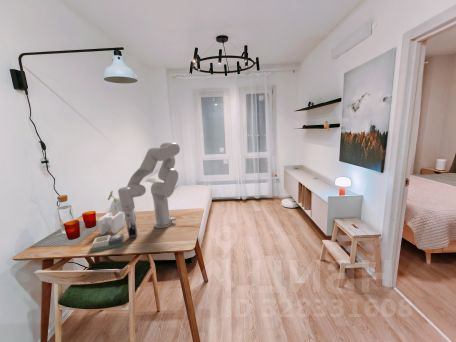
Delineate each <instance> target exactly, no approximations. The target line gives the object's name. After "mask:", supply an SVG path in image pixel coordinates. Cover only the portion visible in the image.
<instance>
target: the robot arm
mask: <svg viewBox="0 0 456 342" xmlns="http://www.w3.org/2000/svg"><path fill="white" fill-rule="evenodd" d="M180 150H181V148H180V145H179V144H178V143H176V142H163V143H161V144H160V146H159V147H151V148H149V149H148V150H147V151H146V154H145V156H144V158H143V160H142V163H141V164H140V166H139V168H138V169H137V170H136V171H135V172H134V173H133V174H132V175H131V176H130V179H129V181H128V183H127V185H126V186H124V187H119V188H118V190H117V192H118V193H117V194H118V198H119V204H120V207H121V212H123V214H124V215H125V219H124V221H125V225H126V227H127V226H128V227H129V233H130V235H135V229H134V226H133V224H134V225H135V223H136V224H137V217H136V211H135V207H136V206H135V201H134V198H139V197H142V196H143V195H145V194H146V191H147V190H146V189H147V188H146V187H145V186H144V185H142V184H141V182H142V181H143V179H144V178H145V177H147V176H149V175H151V174H152V173H153V172H154V170H155V168H156V165H157V164H158V162H161V161H162V163H161V166H160V169H159V170H158V171H159V172H158V175H157V177H158V179H159V180H160V181H156V182H154V183H152V184H151V186H150V192H151V196H152V199H153V207H154V208H153V209H154V216H155V222H154V225H153V226H154V227H155V228H157V229H164V228H168V227H170V226H172V225H173V222H174V221H175V222H176V221H177V218H176V217H174V216H172V217H171V215H170V210H169V201H168V200H169V199H168V198H170V197H171V196H172V195H173V194H174V191H175V188H176V186H177V183H178V180H179V173H178V171H177V170H176V169H175V164H176V158H175V156H177V155H178V154H179V153H180Z"/></svg>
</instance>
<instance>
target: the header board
mask: <svg viewBox="0 0 456 342" xmlns="http://www.w3.org/2000/svg"><path fill="white" fill-rule="evenodd" d="M124 240H125V235H124V233H119V234H114V235H111V234H110V235H109V234H108V235H103V236H98V237H95V238H94V240H93V242H92V248H91V250H90V252H91V253H95V251H96V252H100V251H99V250H101V251H105V250H104V249H106V250H110V248H111V249H116V248H120V247H123V244H124V243H123V242H124Z"/></svg>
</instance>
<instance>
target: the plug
mask: <svg viewBox="0 0 456 342" xmlns="http://www.w3.org/2000/svg"><path fill="white" fill-rule="evenodd" d="M133 226H134V229H135V235H130V233H129V227H128V226H127V225H126V229H127V234H128V238H129V239H132V238H136V237H138V230H137V222H136V223H135V225H134V224H133Z"/></svg>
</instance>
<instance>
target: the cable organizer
mask: <svg viewBox="0 0 456 342" xmlns="http://www.w3.org/2000/svg"><path fill="white" fill-rule="evenodd" d="M123 214H124V211H119V213H118V214H116V215H115V216H113V213H112V212H107V213H105V214H104V215H103V216H100V218H98V219H97V221H96V222H97V229H98V233H99V235H105V234H106V233H107V232H108V233H109V230H110V231H111V232H112V234H117V233H119V231H120V230H122V229H123V228H124V227H125V225H126V220H125V219H124V215H123Z"/></svg>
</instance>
